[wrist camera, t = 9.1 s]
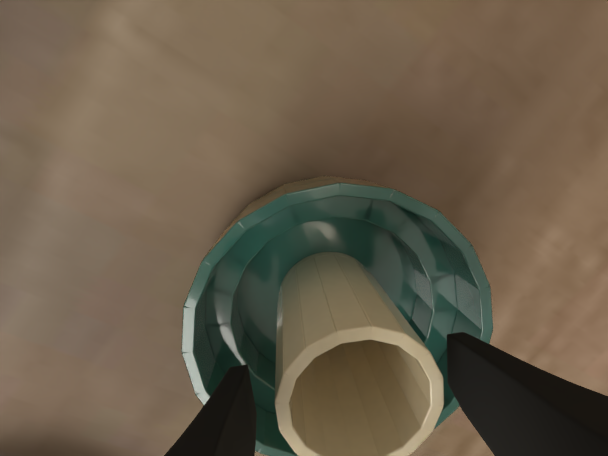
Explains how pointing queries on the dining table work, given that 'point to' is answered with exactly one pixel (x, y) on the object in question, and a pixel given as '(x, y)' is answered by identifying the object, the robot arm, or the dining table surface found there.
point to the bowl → (316, 239)
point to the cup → (350, 365)
